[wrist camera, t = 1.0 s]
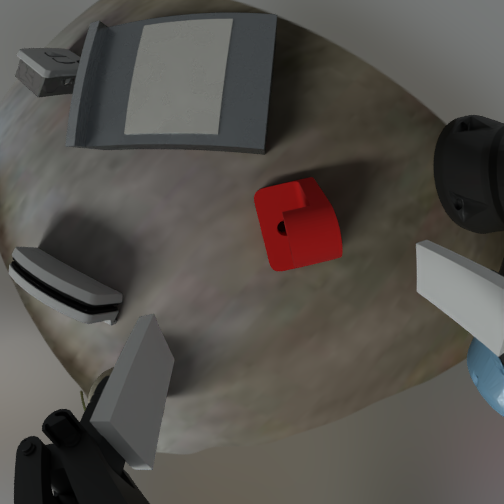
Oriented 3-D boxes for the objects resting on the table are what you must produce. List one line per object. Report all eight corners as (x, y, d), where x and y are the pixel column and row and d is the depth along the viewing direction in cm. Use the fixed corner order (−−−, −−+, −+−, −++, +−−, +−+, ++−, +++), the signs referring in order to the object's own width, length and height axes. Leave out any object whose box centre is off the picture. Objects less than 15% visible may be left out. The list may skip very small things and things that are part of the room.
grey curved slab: (34, 276, 35) (-7, 276, 25) (42, 247, 35) (1, 242, 25) (118, 324, 36) (85, 340, 26) (128, 293, 36) (96, 300, 26)
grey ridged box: (276, 40, 25) (277, 4, 18) (264, 154, 29) (263, 146, 21) (122, 46, 26) (90, 23, 18) (105, 150, 30) (65, 146, 22)
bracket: (252, 190, 30) (245, 196, 20) (309, 177, 29) (329, 177, 20) (271, 267, 32) (272, 305, 23) (326, 254, 32) (348, 288, 22)
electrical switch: (103, 71, 27) (55, 57, 18) (82, 104, 29) (33, 99, 20) (68, 49, 26) (25, 36, 17) (50, 79, 27) (5, 72, 19)
